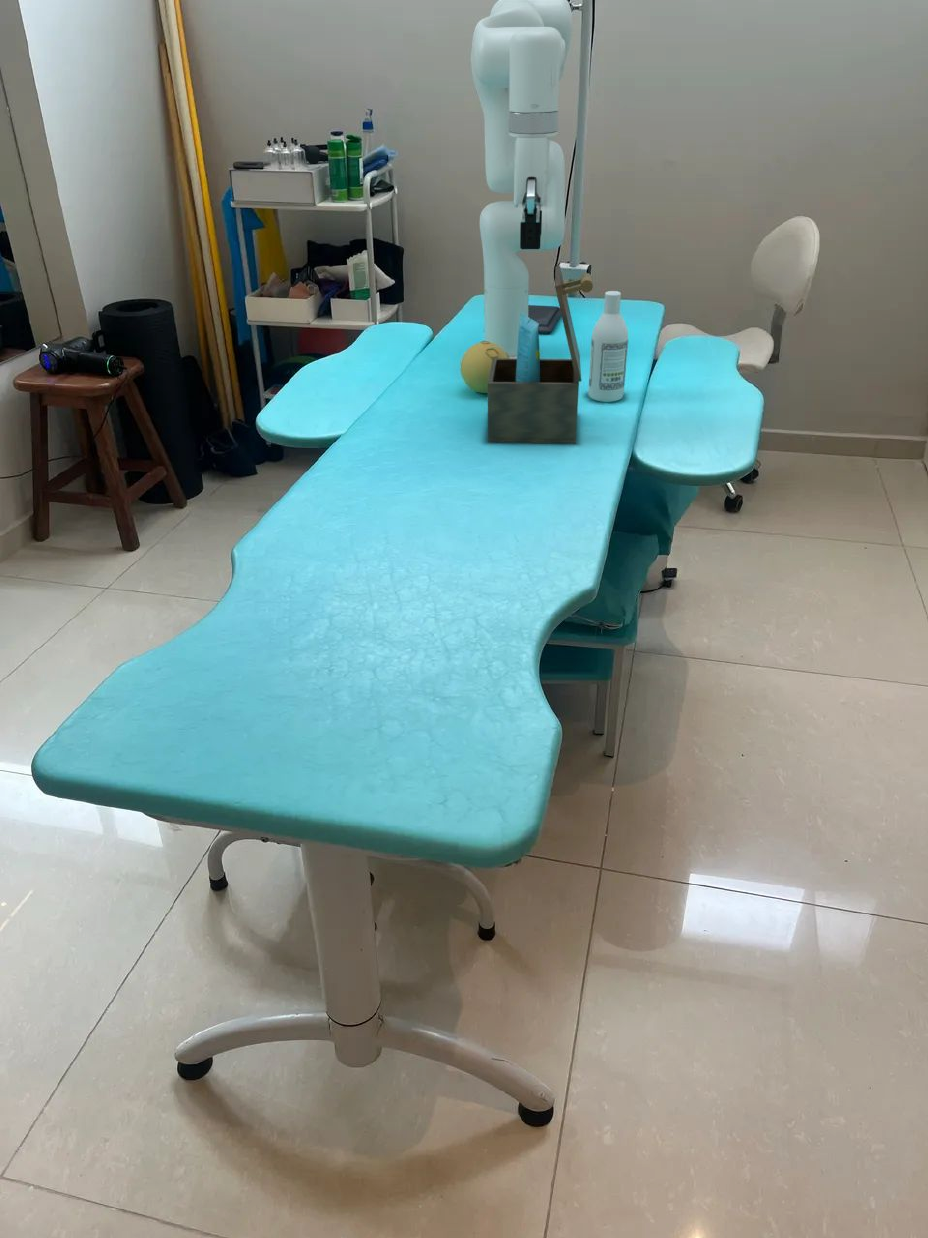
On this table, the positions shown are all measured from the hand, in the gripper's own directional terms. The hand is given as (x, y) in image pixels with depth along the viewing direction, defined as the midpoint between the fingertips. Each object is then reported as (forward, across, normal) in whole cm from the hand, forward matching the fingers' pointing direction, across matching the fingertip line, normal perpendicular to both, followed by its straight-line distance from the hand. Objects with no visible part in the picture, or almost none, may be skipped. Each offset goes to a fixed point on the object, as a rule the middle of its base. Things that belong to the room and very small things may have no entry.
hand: (531, 242), depth 151 cm
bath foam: (+32, -17, +15) cm, 40 cm away
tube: (+32, 0, 0) cm, 32 cm away
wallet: (+32, -69, -2) cm, 76 cm away
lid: (+13, 0, +6) cm, 15 cm away
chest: (+32, 0, +1) cm, 32 cm away
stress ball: (+32, -19, -9) cm, 39 cm away
